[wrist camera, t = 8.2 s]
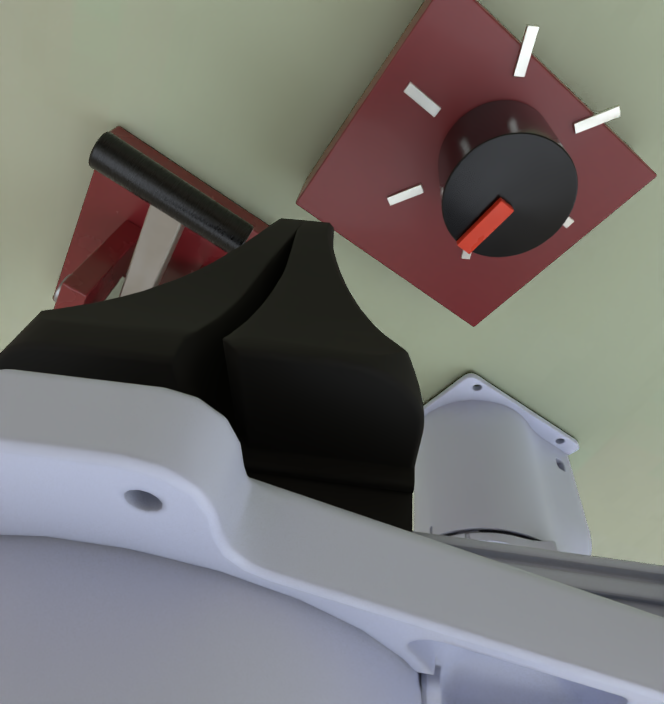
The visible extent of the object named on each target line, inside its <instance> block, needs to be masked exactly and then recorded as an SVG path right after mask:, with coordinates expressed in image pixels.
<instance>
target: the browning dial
mask: <svg viewBox="0 0 664 704" xmlns="http://www.w3.org/2000/svg"><path fill="white" fill-rule="evenodd" d="M438 175H439V186H440V198H441V209H442V216H443V220H444V223H445V226H446V228H447V230H448V231H449V233H450V235H451V236H452V237H453V238H454V239H455V241H456V242H457V246H459V247H460V248H461V249H463V250H464V251H465V252H467V253H468V254H470V253H471V252H473V253H476V254H479V255H483V256H488V257H508V256H514V255H518V254H522V253H524V252H527V251H530V250H532V249H534V248H536V247H538V246H539V245H541V244H543V243H544V242H546V241H547V240H548V239H549V238H551V237H552V236H553V235H554V234H555V233H556V232H557V231H558V230H559V229H560V228H561V227H562V225H563V224H564V223H565V221H566V220H567V218H568V217H569V215H570V213H571V211H572V209H573V207H574V204H575V201H576V197H577V192H578V176H577V171H576V167H575V165H574V163H573V160H572V158H571V157H570V155H569V154H568V152H567V151H566V149H565V148H564V147H563V145H562V144H561V142H560V141H559V139H558V138H557V136H556V135H555V133H554V132H553V130H552V129H551V127H550V126H549V124H548V123H547V122H546V120H545V119H544V117H543V116H542V115H541V114H540V113H539V112H538V111H537V110H535V109H534V108H533V107H531V106H529V105H527V104H525V103H522V102H519V101H514V100H496V101H491V102H487V103H485V104H482V105H479V106H477V107H475V108H473V109H472V110H470V111H469V112H467V113H466V114H464V115H463V116H462V117H461V118H460V119H459V120H458V121H457V122H456V123H455V124H454V125H453V126H452V128H451V129H450V130H449V132H448V133H447V135H446V137H445V139H444V141H443V143H442V146H441V149H440V152H439V158H438Z"/></svg>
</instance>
